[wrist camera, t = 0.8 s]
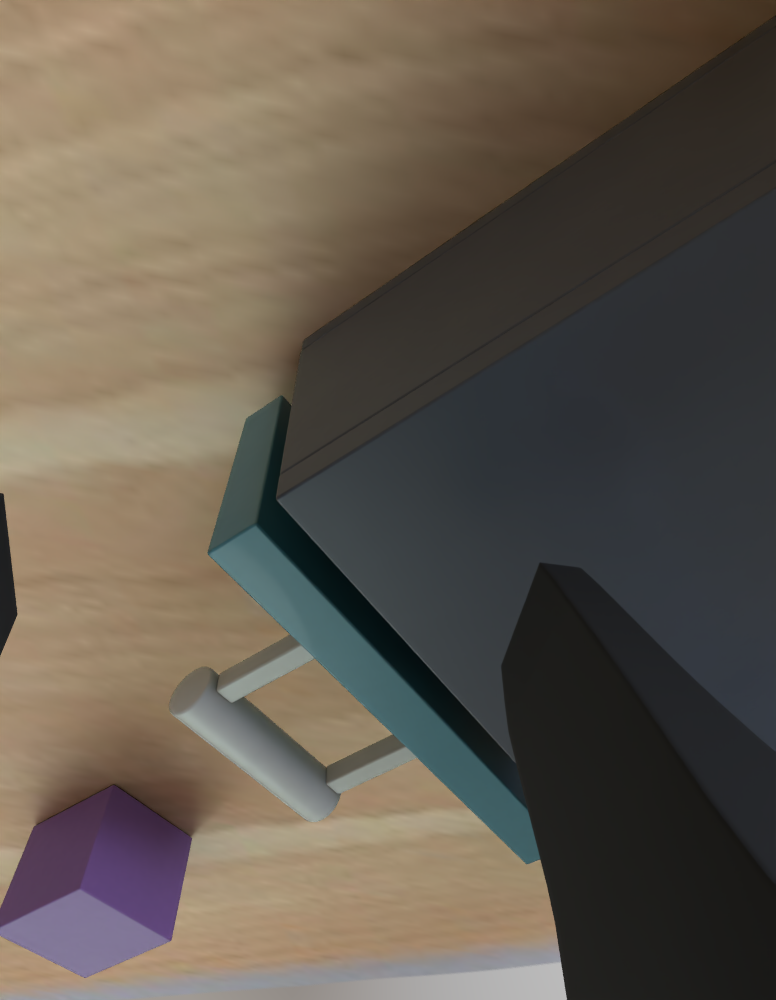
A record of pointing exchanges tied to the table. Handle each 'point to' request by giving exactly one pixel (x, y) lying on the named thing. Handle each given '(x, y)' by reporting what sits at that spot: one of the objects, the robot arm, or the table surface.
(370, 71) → the table surface
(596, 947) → the robot arm
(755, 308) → the cabinet
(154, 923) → the block
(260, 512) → the drawer
